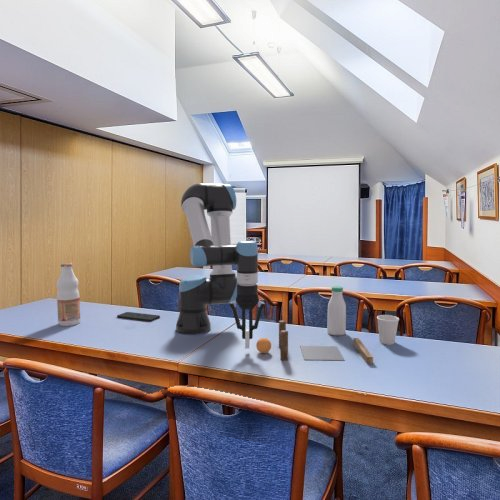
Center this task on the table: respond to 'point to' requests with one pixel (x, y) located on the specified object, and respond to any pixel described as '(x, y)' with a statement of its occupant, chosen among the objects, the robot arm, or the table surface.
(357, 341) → the wall
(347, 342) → the table surface
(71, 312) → the fruit juice
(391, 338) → the dixie cup
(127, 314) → the smart home device
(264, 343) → the ball
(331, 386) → the table surface
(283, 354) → the post
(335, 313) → the milk bottle
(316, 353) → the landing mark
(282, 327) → the post
